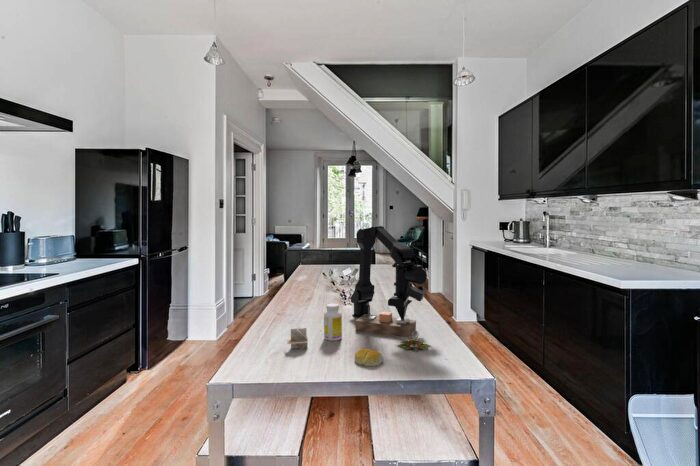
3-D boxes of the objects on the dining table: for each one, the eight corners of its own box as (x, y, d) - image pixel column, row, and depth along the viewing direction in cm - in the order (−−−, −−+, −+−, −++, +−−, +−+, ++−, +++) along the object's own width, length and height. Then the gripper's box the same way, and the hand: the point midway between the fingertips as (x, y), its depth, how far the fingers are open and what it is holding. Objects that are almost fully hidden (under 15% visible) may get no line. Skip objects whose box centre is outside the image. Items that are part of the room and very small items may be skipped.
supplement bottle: (344, 336, 149) (344, 303, 148) (338, 342, 142) (337, 307, 141) (328, 334, 151) (327, 302, 150) (321, 340, 144) (321, 306, 143)
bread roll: (362, 354, 131) (362, 343, 131) (386, 360, 126) (386, 348, 126) (349, 363, 124) (349, 351, 124) (373, 369, 119) (373, 357, 119)
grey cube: (363, 326, 157) (363, 317, 157) (366, 323, 161) (366, 314, 161) (372, 328, 156) (372, 318, 156) (375, 325, 159) (375, 316, 159)
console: (355, 330, 156) (355, 320, 155) (365, 323, 165) (365, 314, 164) (408, 338, 146) (408, 327, 146) (415, 330, 155) (416, 320, 155)
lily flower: (437, 347, 138) (437, 334, 138) (418, 356, 130) (418, 343, 130) (410, 339, 147) (410, 327, 146) (390, 347, 138) (390, 335, 138)
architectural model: (307, 352, 134) (307, 331, 134) (287, 353, 133) (287, 332, 133) (307, 348, 138) (307, 328, 137) (287, 349, 136) (287, 329, 136)
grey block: (396, 329, 152) (396, 319, 151) (399, 326, 155) (399, 317, 155) (406, 330, 150) (406, 321, 150) (408, 327, 153) (409, 318, 153)
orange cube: (379, 323, 154) (379, 313, 154) (382, 320, 158) (382, 311, 158) (388, 324, 153) (388, 315, 152) (392, 321, 156) (392, 312, 156)
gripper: (416, 286, 139) (416, 328, 140) (429, 277, 156) (428, 315, 157) (387, 283, 144) (387, 324, 145) (402, 275, 161) (402, 312, 162)
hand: (402, 319), depth 152 cm, fingers closed, pressing on grey block
